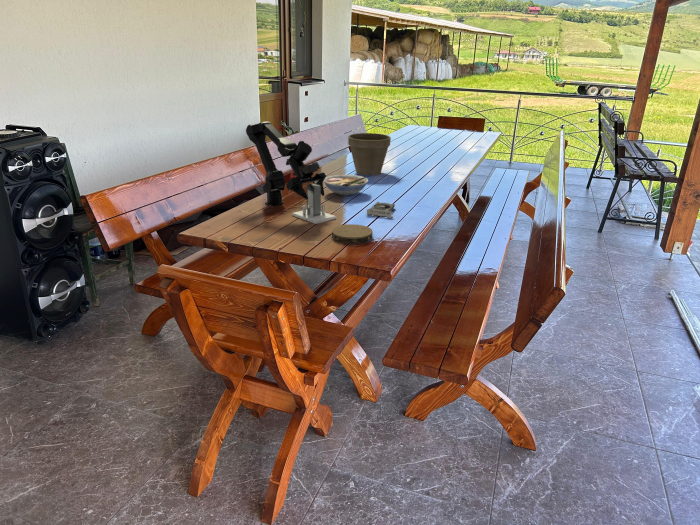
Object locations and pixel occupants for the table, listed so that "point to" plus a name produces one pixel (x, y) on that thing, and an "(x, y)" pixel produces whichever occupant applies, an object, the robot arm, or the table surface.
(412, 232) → the table surface
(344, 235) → the brown flat round piece
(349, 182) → the ramen bowl
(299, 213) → the pin tray
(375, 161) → the plant pot
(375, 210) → the graphics card
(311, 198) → the block
